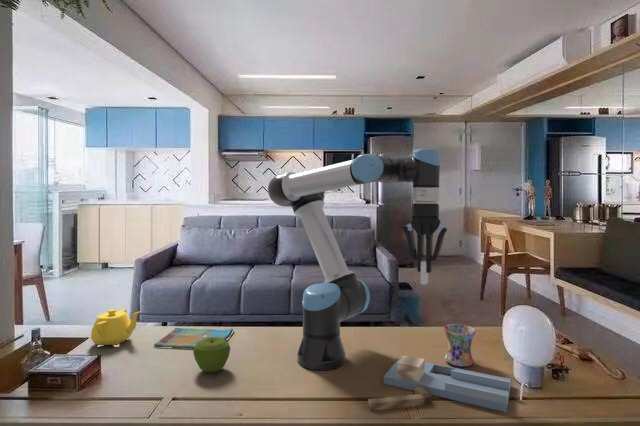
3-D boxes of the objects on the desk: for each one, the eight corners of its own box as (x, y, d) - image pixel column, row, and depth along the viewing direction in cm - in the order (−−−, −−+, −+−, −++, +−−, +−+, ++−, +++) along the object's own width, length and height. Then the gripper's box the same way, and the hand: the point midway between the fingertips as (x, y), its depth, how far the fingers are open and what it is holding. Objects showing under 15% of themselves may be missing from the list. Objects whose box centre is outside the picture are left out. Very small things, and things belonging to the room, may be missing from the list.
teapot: (99, 354, 132) (97, 319, 131) (85, 343, 142) (84, 310, 141) (142, 343, 142) (141, 310, 141) (126, 333, 152) (125, 302, 151)
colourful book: (219, 352, 135) (219, 344, 135) (152, 349, 137) (152, 342, 137) (235, 334, 152) (234, 327, 152) (175, 332, 155) (175, 325, 154)
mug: (477, 370, 120) (478, 335, 119) (445, 367, 122) (445, 333, 121) (470, 354, 132) (470, 322, 131) (440, 352, 133) (441, 320, 133)
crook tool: (370, 411, 98) (370, 403, 98) (363, 398, 104) (363, 391, 104) (431, 404, 101) (431, 397, 101) (421, 393, 107) (421, 385, 106)
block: (397, 376, 111) (397, 362, 111) (403, 368, 116) (403, 354, 116) (418, 381, 108) (419, 367, 108) (424, 372, 114) (424, 359, 113)
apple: (186, 371, 120) (186, 338, 119) (217, 360, 127) (216, 329, 127) (206, 382, 112) (205, 347, 112) (237, 370, 120) (237, 337, 120)
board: (383, 383, 112) (383, 369, 111) (400, 363, 125) (400, 350, 125) (506, 412, 97) (507, 396, 97) (510, 386, 110) (511, 371, 110)
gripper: (399, 202, 117) (398, 283, 118) (445, 203, 110) (444, 288, 112) (407, 202, 123) (406, 278, 125) (451, 202, 117) (449, 283, 118)
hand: (424, 283), depth 118 cm, fingers closed
